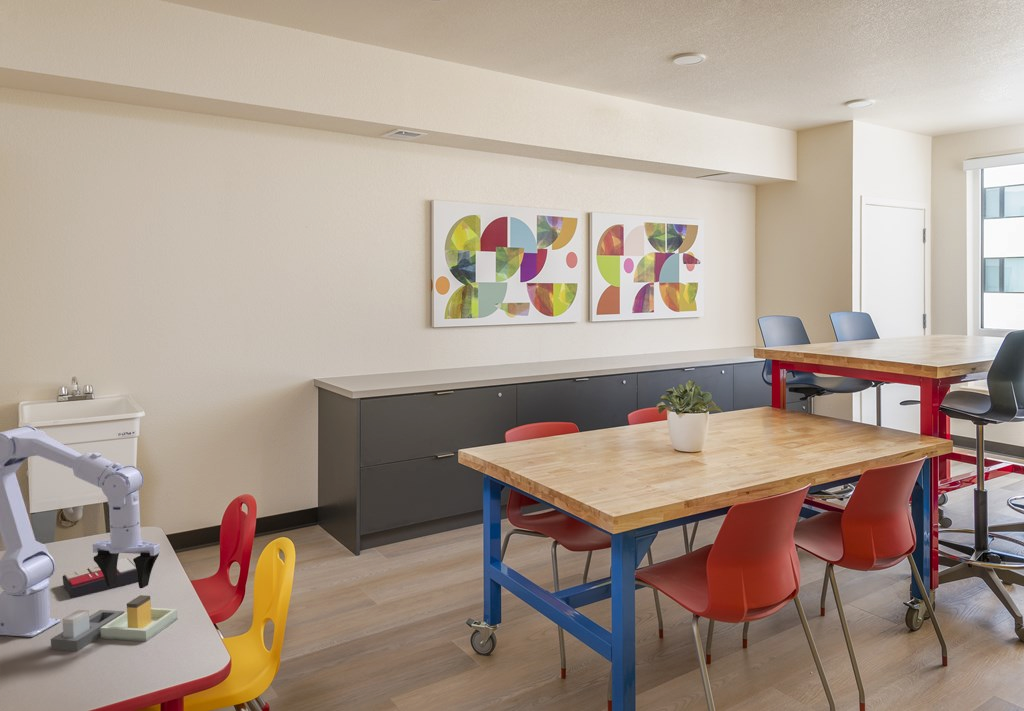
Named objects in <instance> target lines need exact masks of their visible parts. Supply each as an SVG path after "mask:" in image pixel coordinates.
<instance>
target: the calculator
mask: <svg viewBox="0 0 1024 711" xmlns="http://www.w3.org/2000/svg"><path fill="white" fill-rule="evenodd" d="M136 583H137V584H138V573H137V569H136V566H135V563H134V562H132V561H131V560H130V559H129V558H127V557H124V558H123V557H122V558H120V559H119V558H118V562H117V582H116V583H115V584H113V585H112V586H107V584H106V581H105V578H104V575H103V573H102V571H101V569H100V568H99V566H98V565H97V564H95V565H91V566H88V567H87V568H86V567H84V568H79V569H77V570H73V571H69V572H65V573H64V574H63V575H62V584H63V587H64V589H65V590H66V592H67V593H68V595H69V596H70V598H71V599H75V598H79V597H85V596H88V595H92V594H96V593H99V592H103V591H107V590H110V589H114V588H117V587H123V586H124V587H125V586H129V585H131V584H136Z"/></svg>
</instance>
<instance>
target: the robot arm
mask: <svg viewBox="0 0 1024 711" xmlns="http://www.w3.org/2000/svg"><path fill="white" fill-rule="evenodd" d="M36 456H37V457H41V458H43V459H46V460H48V461H51V462H54V463H57V464H60V465H62V466H64V467H67V468H69V469H72V471H73V475H74V476H75V477H76V478H78V479H79V480H82V481H84V482H86V483H89V484H91V485H92V486H95V487H98V488H100V489H101V490H102V493H103V494H104V495H105V497H106V498H107V505H108V511H109V513H108V514H109V533H110V536H109V537H110V540H104V541H103V540H98V541H96V542H94V543H92V553H93V554H96V555H94V556H93V561H94V562H95V563H96V565H98V566H99V568H100V569H101V571H102V573H103V575H104V578H105V581H106V584H107V586H112V585H113V584H115V583H116V582H117V562H118V560H119V554H135V555H138V556H136V557H134V558H132V559H133V564H134V565H135V566H136V569H137V573H138V582H137V584H138V588H139V589H144V588H145V587H147V586H149V583H150V577H151V574H152V571H153V567H154V565H155V563H156V560H157V559H158V557H159V555H160V553H161V550H160V549H161V548H160V545H161V544H160V543H153V542H148V541H146V540H145V541H144V540H142V538H141V536H142V535H141V534H142V533H141V514H140V512H141V511H140V494H139V492H140V491H139V490H140V489H141V488H142V487H143V486H144V482H145V480H144V479H145V478H144V474H143V472H142V471H141V469H139V468H138V467H136V466H135V465H130V464H129V465H125V466H123V465H122V464H121V463H119V462H114V461H111V460H109V459H107V458H105V457H102V453H99V452H98V451H96V452H86V453H84V454H82V453H80V452H78V451H76V450H74V449H73V448H71V447H69V446H67V445H66V444H63V443H61V442H59V441H58V440H56V439H54V438H52V437H51V436H48V435H47V434H46V432H45V431H44V430H42V429H37V428H36V427H34V426H32V425H22V426H20V427H18V428H17V427H16V428H14V429H13V428H12V429H9V430H5V431H1V432H0V537H1V540H2V543H3V545H4V549H5V551H4V553H3V555H2V557H1V558H0V588H1V589H2V590H3V591H1V593H0V636H13V637H29V638H32V637H33V638H34V637H35V636H37V635H38V634H40V633H42V632H44V631H45V630H47V629H49V628H51V627H53V626H55V625H56V624H58V623H60V622H62V620H61V618H53V617H52V616H51V602H50V600H51V599H50V585H49V583H51V577H52V576H53V575H54V573H55V572H56V568H57V565H56V561H55V559H54V557H53V556H52V554H50V552H49V551H48V548H47V546H46V544H43V543H42V542H39V541H37V540H36V537H35V534H34V531H33V527H32V524H31V521H30V517H29V514H28V512H27V508H26V503H25V501H24V497H23V495H22V494H23V493H22V491H21V486H20V485H19V481H18V478H17V475H16V474H17V471H18V470H19V468H20V467H21V466H22V464H23V463H24V462H25V461H26V460H27V459H28V458H30V457H36Z"/></svg>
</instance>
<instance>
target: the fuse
mask: <svg viewBox="0 0 1024 711" xmlns="http://www.w3.org/2000/svg"><path fill="white" fill-rule="evenodd" d="M89 616H90V611H89V610H85V609H84V610H83V609H78V610H75V611H73V612H72V613H71V614H69V615H67V616H65V617H64V618H62V620H61V621H62V632H63V637H65V638H75V637H77V636H78V635H80V634H82V633H83V632H85V631H86V630H88V629H90V624H89Z"/></svg>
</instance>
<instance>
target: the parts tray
mask: <svg viewBox="0 0 1024 711" xmlns="http://www.w3.org/2000/svg"><path fill="white" fill-rule="evenodd" d="M177 620H178V608H165V607H163V608H161V607H151V623H150V624H148V625H147V626H145V627H144V628H142V629H139V628H128V620H127V610H126V611H124V613H123V614H122V615H120V616H118V617H117V618H115V619H114V620H112V621H110V622H109V623H107V624H106V625H104V626H102V627H101V628H100V632H101V637H100V639H102V640H103V639H105V640H118V641H119V640H122V641H135V642H148V641H149V640H150V639H152V638H154V637H155V636H156V635H158V634H159V633H160V632H162V631H163V630H165V629H166V628H167V627H168V626H170V625H172V624H173V623H174V622H176V621H177Z"/></svg>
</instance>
